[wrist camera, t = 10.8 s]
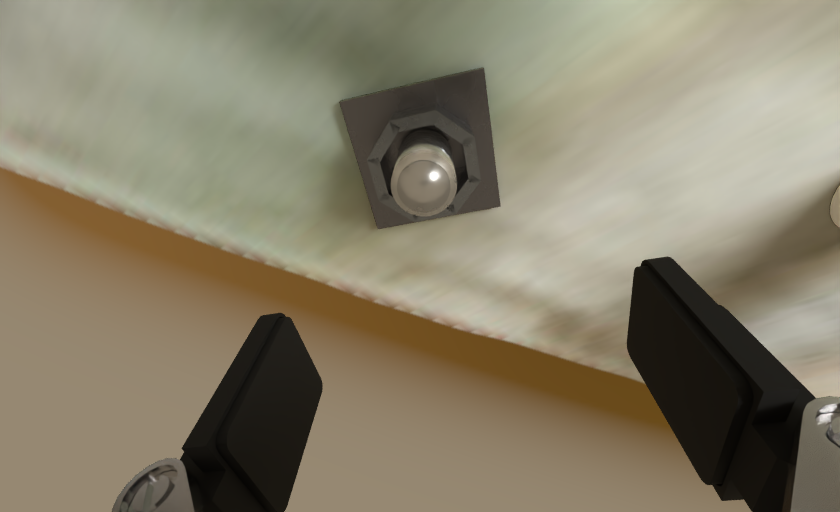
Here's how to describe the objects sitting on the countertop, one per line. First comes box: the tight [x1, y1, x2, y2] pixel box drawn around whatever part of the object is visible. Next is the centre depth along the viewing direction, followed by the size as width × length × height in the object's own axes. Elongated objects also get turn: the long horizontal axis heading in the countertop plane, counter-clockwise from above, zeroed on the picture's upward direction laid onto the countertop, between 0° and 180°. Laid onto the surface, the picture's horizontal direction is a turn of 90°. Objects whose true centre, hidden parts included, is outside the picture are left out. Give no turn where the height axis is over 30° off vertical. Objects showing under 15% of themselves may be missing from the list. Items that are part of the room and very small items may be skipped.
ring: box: [367, 102, 481, 222], centre depth 27 cm, size 7×7×3 cm
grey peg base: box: [340, 67, 500, 229], centre depth 26 cm, size 10×10×7 cm
